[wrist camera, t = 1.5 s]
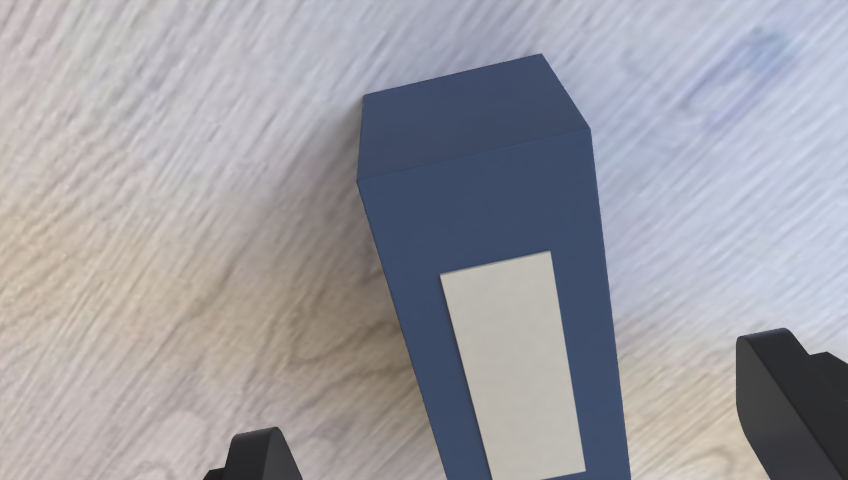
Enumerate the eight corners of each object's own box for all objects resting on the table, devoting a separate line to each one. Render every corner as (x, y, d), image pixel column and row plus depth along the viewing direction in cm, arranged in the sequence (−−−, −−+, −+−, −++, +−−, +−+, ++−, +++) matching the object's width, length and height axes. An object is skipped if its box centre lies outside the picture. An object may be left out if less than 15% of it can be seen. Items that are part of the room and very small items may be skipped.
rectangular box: (362, 94, 22) (355, 182, 17) (541, 52, 22) (591, 129, 16) (455, 422, 29) (470, 557, 24) (591, 395, 29) (637, 526, 23)
